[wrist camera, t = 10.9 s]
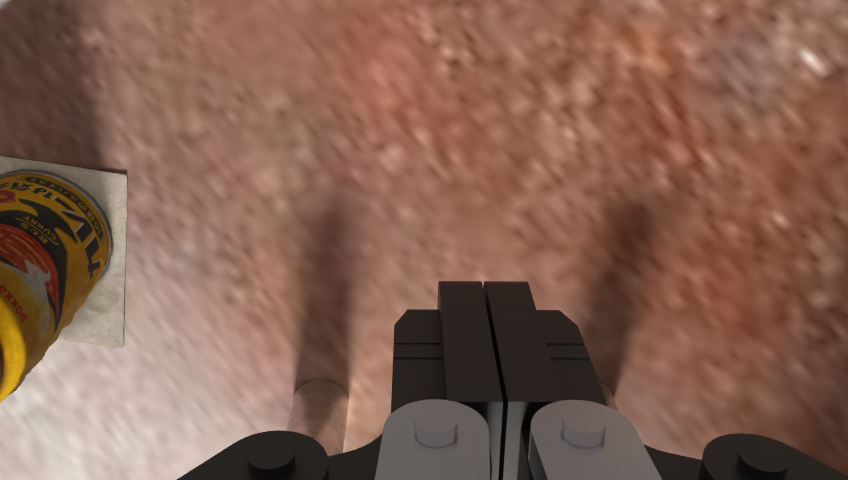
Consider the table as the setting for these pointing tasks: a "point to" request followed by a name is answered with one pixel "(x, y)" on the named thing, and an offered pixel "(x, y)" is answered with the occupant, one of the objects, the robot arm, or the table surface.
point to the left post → (320, 414)
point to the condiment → (58, 261)
